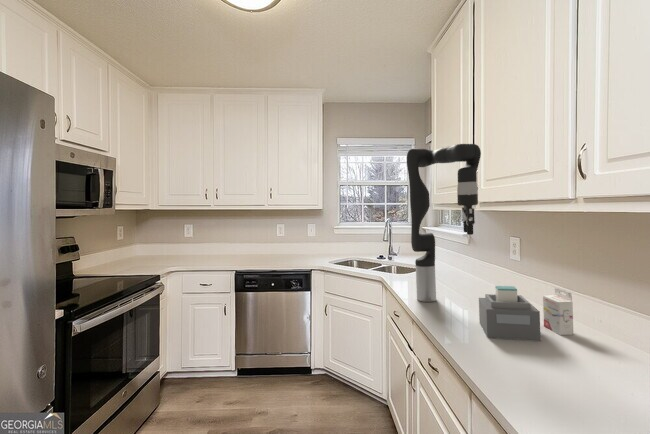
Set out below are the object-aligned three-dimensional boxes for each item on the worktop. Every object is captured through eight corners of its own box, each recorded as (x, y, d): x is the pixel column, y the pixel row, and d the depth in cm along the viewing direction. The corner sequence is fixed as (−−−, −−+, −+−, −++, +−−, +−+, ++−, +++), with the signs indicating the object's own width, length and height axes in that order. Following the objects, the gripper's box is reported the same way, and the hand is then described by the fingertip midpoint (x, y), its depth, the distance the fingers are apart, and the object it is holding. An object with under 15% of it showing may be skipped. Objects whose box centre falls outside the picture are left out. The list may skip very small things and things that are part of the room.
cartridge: (495, 301, 114) (495, 285, 114) (514, 302, 113) (513, 286, 113) (498, 305, 111) (498, 288, 110) (517, 306, 109) (517, 289, 109)
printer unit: (479, 322, 121) (478, 292, 121) (525, 325, 117) (524, 293, 116) (487, 338, 107) (486, 303, 107) (540, 341, 103) (539, 305, 102)
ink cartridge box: (542, 326, 115) (541, 287, 115) (556, 325, 115) (555, 286, 115) (559, 335, 106) (558, 293, 106) (574, 335, 106) (573, 292, 106)
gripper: (455, 194, 133) (456, 231, 134) (459, 193, 120) (460, 235, 121) (474, 193, 131) (475, 231, 132) (481, 192, 118) (482, 235, 118)
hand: (468, 233), depth 126 cm, fingers open, 8 cm apart
